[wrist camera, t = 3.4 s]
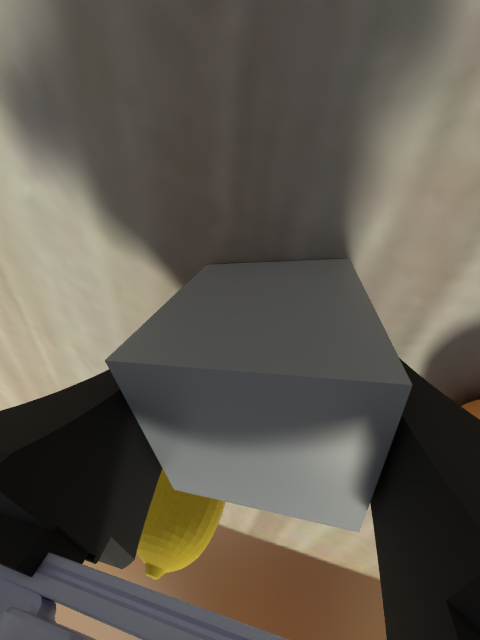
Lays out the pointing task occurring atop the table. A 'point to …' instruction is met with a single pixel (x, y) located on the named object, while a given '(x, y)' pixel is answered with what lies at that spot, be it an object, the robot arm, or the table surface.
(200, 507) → the lemon
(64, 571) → the robot arm
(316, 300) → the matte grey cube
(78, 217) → the table surface
